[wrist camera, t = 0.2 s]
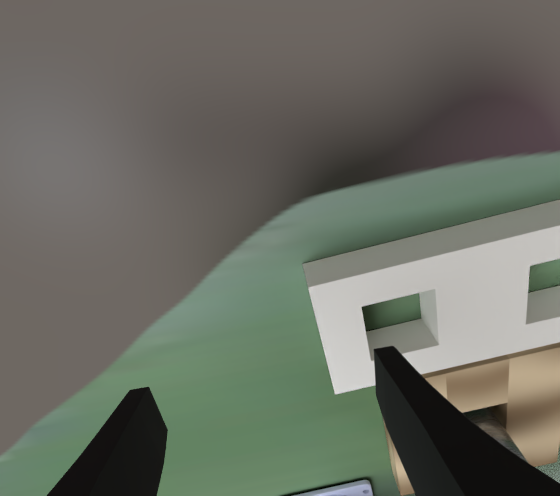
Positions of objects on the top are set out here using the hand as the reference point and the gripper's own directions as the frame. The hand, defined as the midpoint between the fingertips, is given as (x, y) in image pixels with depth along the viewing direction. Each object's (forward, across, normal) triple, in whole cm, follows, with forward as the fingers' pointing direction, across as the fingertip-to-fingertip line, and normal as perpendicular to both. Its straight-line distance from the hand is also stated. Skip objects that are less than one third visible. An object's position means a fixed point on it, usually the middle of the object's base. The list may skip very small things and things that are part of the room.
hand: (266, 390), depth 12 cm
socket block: (+10, -12, +16) cm, 22 cm away
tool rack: (+10, -12, +4) cm, 16 cm away
